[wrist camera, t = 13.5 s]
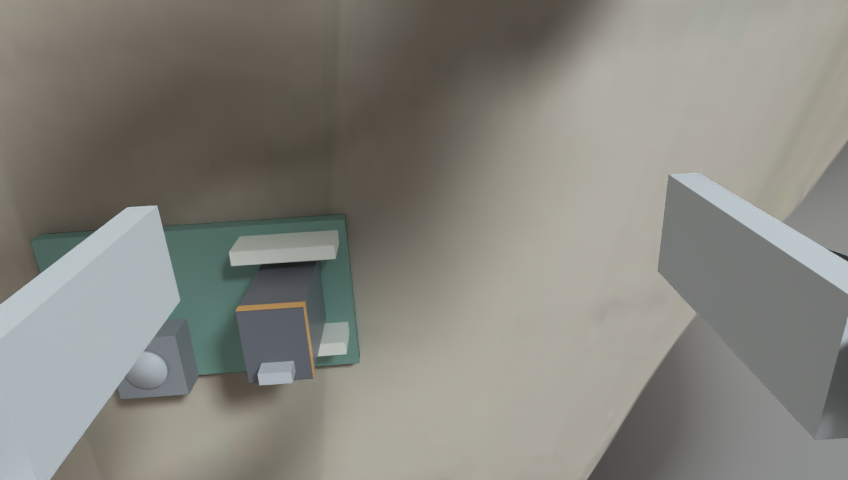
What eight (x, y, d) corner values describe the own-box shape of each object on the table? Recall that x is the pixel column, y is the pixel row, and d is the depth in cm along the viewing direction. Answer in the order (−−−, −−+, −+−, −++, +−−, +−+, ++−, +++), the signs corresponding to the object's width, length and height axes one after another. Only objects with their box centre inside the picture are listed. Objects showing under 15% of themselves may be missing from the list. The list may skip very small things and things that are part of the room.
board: (39, 234, 42) (3, 256, 38) (345, 214, 43) (340, 234, 39) (83, 375, 46) (55, 408, 42) (360, 354, 47) (357, 385, 43)
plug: (262, 259, 42) (229, 321, 34) (319, 255, 42) (300, 317, 34) (272, 321, 44) (243, 395, 35) (326, 317, 44) (311, 390, 36)
